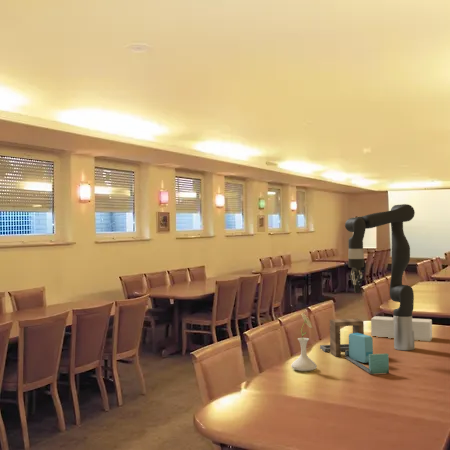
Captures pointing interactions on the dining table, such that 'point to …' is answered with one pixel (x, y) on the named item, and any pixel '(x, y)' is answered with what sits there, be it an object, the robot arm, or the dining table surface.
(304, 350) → the flower in vase
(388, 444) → the dining table surface
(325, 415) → the dining table surface
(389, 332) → the white long block
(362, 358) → the data package
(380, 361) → the frame
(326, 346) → the tray
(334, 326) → the wooden arch
